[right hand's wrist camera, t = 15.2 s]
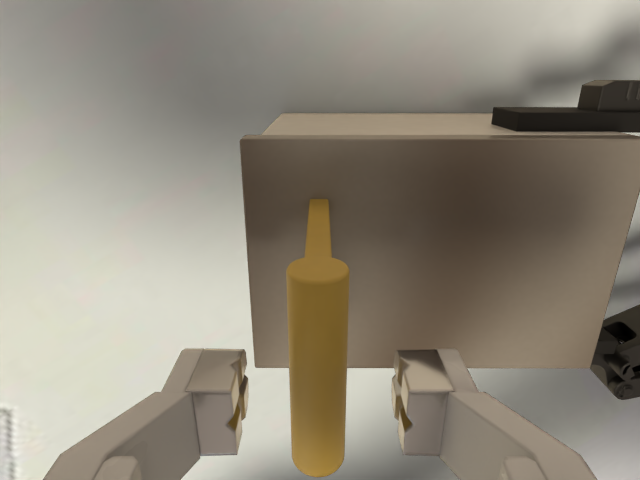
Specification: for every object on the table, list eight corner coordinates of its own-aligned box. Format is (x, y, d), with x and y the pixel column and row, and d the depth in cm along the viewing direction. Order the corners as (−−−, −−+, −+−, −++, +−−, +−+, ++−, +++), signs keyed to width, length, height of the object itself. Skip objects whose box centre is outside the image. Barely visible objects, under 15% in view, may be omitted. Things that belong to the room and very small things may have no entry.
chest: (286, 266, 28) (270, 351, 20) (281, 113, 25) (260, 134, 16) (497, 266, 28) (575, 352, 20) (523, 113, 25) (632, 134, 16)
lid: (258, 352, 20) (218, 530, 12) (244, 134, 16) (174, 190, 8) (576, 353, 20) (738, 531, 12) (633, 134, 16) (918, 191, 8)
